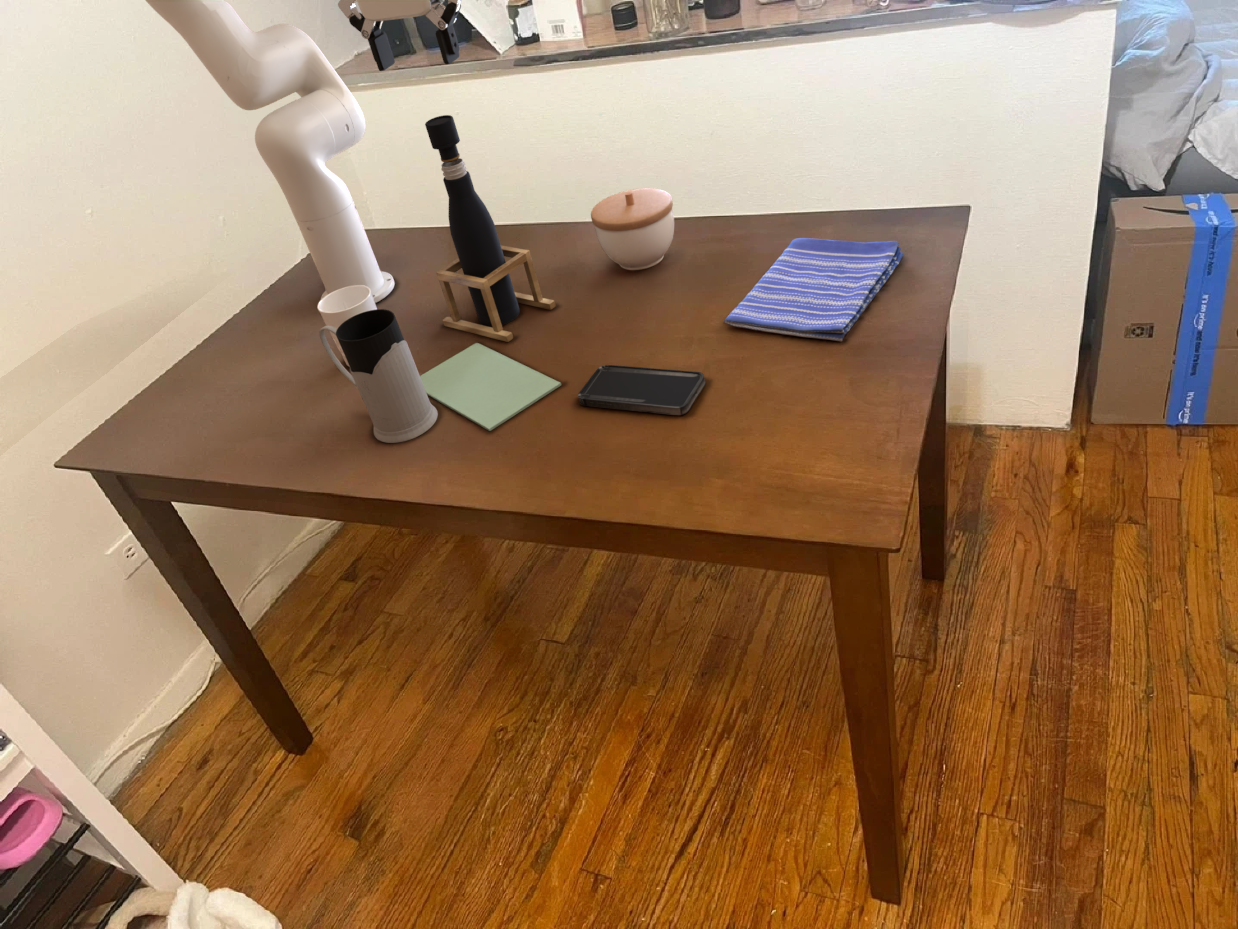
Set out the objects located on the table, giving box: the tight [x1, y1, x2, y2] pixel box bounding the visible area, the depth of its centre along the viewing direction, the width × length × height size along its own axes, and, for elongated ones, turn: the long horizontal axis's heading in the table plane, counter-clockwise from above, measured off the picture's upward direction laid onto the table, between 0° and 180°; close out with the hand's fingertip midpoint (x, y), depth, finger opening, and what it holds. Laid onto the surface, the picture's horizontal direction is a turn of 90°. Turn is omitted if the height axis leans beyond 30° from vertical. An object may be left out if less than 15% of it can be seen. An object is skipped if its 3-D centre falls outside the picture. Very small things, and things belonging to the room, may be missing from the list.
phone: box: [577, 364, 706, 416], centre depth 119 cm, size 8×1×15 cm
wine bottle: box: [424, 114, 521, 328], centre depth 135 cm, size 6×6×30 cm
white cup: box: [316, 285, 378, 368], centre depth 139 cm, size 8×8×10 cm
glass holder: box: [318, 308, 439, 444], centre depth 123 cm, size 9×14×15 cm, turn 58°
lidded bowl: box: [590, 187, 675, 271], centre depth 147 cm, size 13×13×11 cm
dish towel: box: [723, 237, 904, 342], centre depth 130 cm, size 17×24×3 cm
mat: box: [420, 342, 562, 432], centre depth 129 cm, size 20×12×1 cm, turn 42°
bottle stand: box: [435, 245, 557, 343], centre depth 142 cm, size 14×11×9 cm
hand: (419, 63), depth 121 cm, fingers open, 9 cm apart
